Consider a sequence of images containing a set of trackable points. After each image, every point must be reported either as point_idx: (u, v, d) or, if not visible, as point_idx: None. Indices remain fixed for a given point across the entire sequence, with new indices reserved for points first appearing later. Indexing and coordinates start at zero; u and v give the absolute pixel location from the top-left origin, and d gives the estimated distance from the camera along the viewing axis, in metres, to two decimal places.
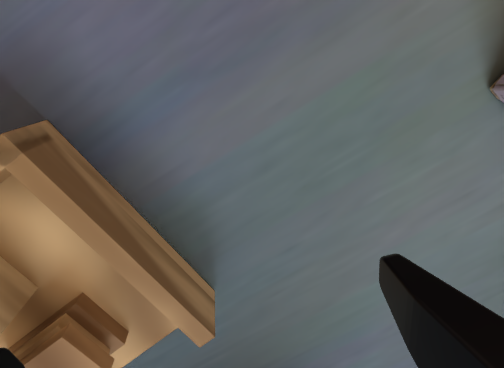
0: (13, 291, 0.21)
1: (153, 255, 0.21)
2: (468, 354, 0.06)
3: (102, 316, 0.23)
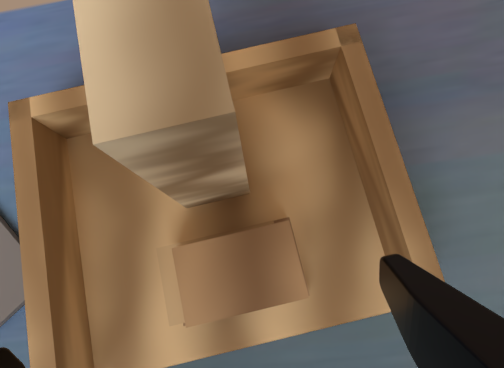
0: None
1: None
2: (468, 354, 0.06)
3: None
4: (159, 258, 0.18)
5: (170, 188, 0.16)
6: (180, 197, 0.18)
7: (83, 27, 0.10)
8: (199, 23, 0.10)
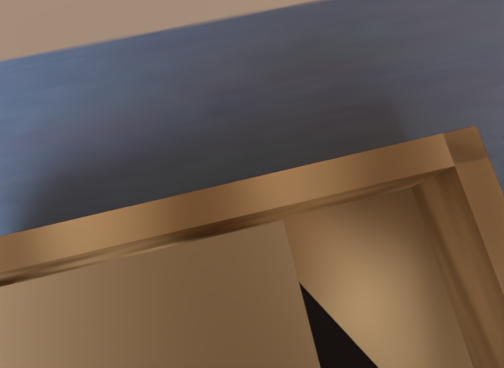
0: None
1: None
2: None
3: None
4: None
5: None
6: None
7: None
8: None
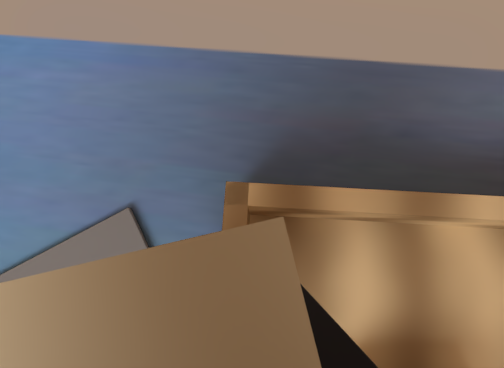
0: None
1: None
2: None
3: None
4: None
5: None
6: None
7: None
8: None
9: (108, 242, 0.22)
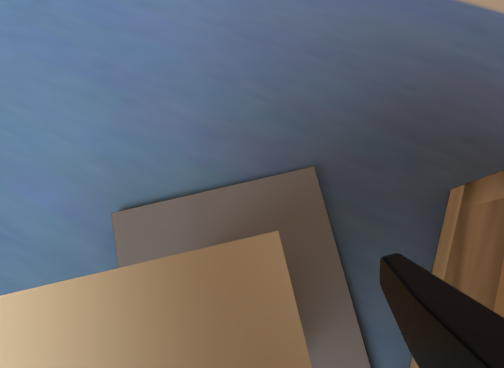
0: None
1: None
2: (469, 354, 0.06)
3: None
4: None
5: None
6: None
7: None
8: None
9: (280, 203, 0.16)
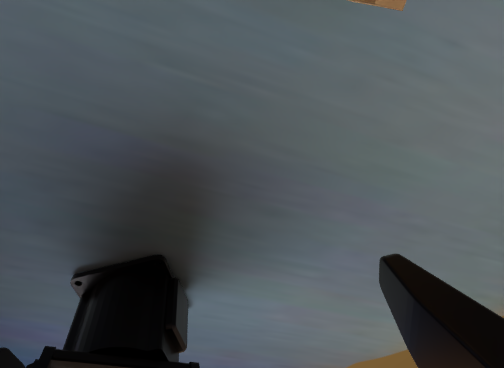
0: None
1: None
2: (468, 354, 0.06)
3: None
4: None
5: None
6: None
7: None
8: None
9: None
